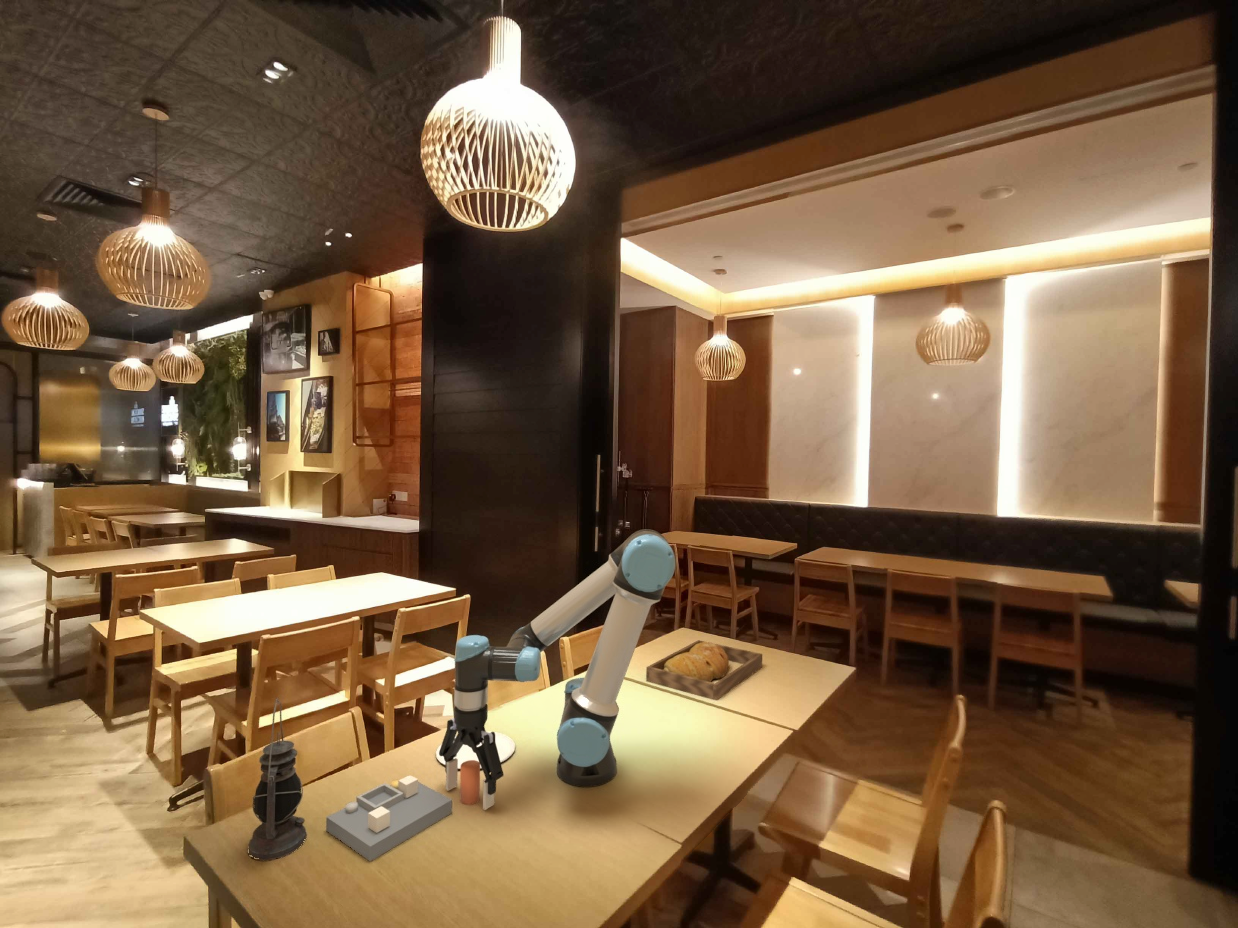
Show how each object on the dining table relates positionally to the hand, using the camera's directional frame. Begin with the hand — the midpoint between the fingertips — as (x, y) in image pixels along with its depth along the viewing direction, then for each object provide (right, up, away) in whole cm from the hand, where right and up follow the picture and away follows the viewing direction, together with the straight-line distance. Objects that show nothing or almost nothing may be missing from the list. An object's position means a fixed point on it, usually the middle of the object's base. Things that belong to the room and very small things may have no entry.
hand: (469, 796), depth 140 cm
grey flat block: (-15, 0, -9) cm, 17 cm away
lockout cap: (0, 0, 0) cm, 0 cm away
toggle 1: (-15, +3, -16) cm, 22 cm away
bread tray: (+67, 0, +83) cm, 106 cm away
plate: (-4, -1, +22) cm, 23 cm away
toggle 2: (-13, +3, -4) cm, 14 cm away
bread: (+65, -1, +85) cm, 107 cm away
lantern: (-35, 0, -17) cm, 39 cm away
